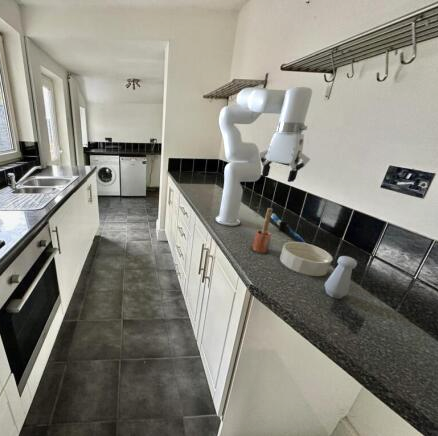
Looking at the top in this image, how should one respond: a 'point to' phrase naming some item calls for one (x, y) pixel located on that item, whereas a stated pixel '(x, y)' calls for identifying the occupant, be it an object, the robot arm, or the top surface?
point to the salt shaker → (340, 278)
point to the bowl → (306, 258)
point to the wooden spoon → (266, 221)
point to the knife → (286, 228)
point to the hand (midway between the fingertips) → (277, 178)
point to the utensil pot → (261, 241)
